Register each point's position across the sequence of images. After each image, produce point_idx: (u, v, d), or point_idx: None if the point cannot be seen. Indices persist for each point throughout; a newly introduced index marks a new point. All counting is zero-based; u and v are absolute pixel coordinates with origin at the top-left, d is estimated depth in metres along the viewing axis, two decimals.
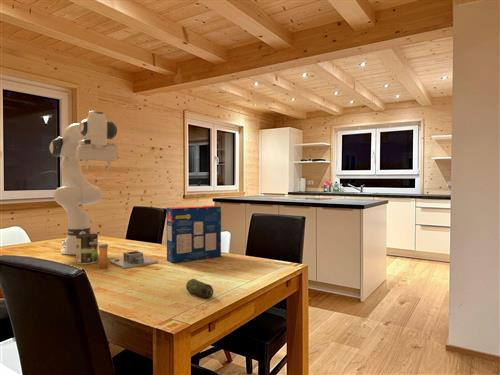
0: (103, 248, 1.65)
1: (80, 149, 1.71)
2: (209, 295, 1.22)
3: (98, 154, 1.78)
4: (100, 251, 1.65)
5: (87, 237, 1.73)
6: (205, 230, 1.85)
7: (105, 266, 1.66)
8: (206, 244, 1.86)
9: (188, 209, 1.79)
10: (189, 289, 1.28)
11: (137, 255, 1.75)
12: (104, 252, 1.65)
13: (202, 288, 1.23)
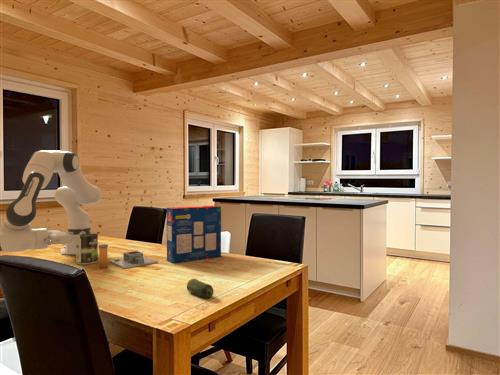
0: (103, 248, 1.65)
1: None
2: (209, 295, 1.22)
3: None
4: (100, 251, 1.65)
5: (87, 237, 1.73)
6: (205, 230, 1.85)
7: (105, 266, 1.66)
8: (206, 244, 1.86)
9: (188, 209, 1.79)
10: (189, 289, 1.28)
11: (137, 255, 1.75)
12: (104, 252, 1.65)
13: (202, 288, 1.23)
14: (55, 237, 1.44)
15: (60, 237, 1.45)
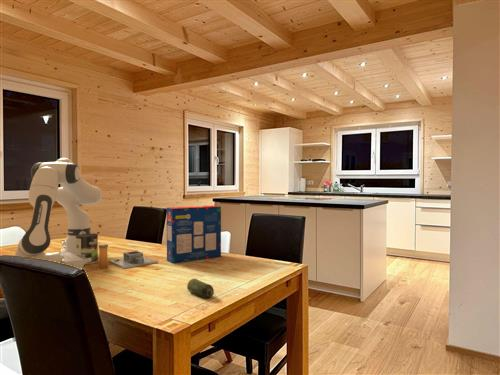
0: (103, 248, 1.65)
1: None
2: (209, 295, 1.22)
3: None
4: (100, 251, 1.65)
5: (87, 237, 1.73)
6: (205, 230, 1.85)
7: (105, 266, 1.66)
8: (206, 244, 1.86)
9: (188, 209, 1.79)
10: (190, 289, 1.28)
11: (137, 255, 1.75)
12: (104, 252, 1.65)
13: (202, 288, 1.23)
14: (68, 262, 1.48)
15: (73, 262, 1.49)
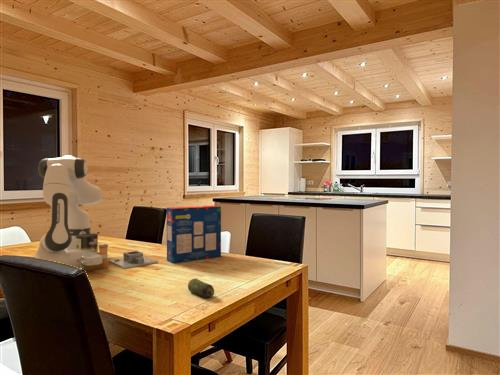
0: (103, 248, 1.65)
1: None
2: (210, 295, 1.22)
3: None
4: (100, 251, 1.65)
5: (87, 237, 1.73)
6: (205, 230, 1.85)
7: (105, 266, 1.66)
8: (206, 244, 1.86)
9: (188, 209, 1.79)
10: (190, 289, 1.28)
11: (137, 255, 1.75)
12: (104, 252, 1.65)
13: (202, 288, 1.23)
14: (88, 258, 1.53)
15: (92, 258, 1.54)
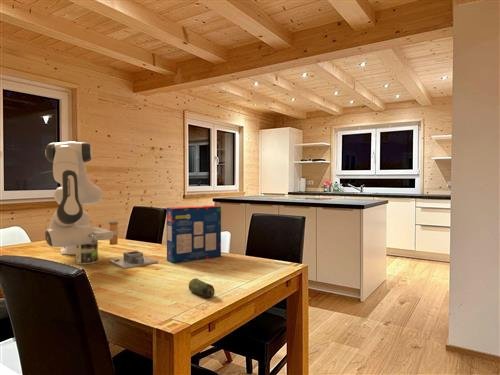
0: (113, 225, 1.68)
1: None
2: (210, 295, 1.22)
3: None
4: (110, 228, 1.68)
5: None
6: (205, 230, 1.85)
7: (115, 243, 1.69)
8: (206, 244, 1.86)
9: (188, 209, 1.79)
10: (191, 288, 1.28)
11: (137, 255, 1.75)
12: (114, 229, 1.69)
13: (203, 288, 1.23)
14: (99, 233, 1.57)
15: (103, 233, 1.57)
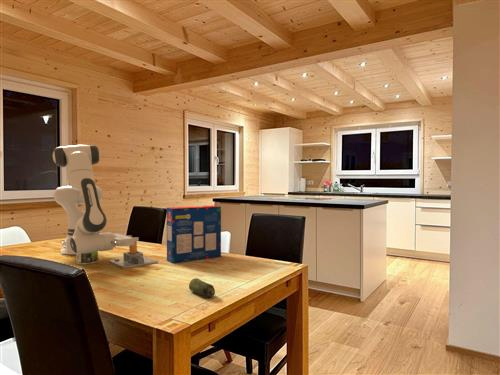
0: None
1: None
2: (210, 295, 1.22)
3: None
4: None
5: None
6: (205, 230, 1.85)
7: None
8: (206, 244, 1.86)
9: (188, 209, 1.79)
10: (191, 288, 1.28)
11: (137, 255, 1.75)
12: (134, 246, 1.76)
13: (203, 288, 1.23)
14: (121, 240, 1.63)
15: (125, 240, 1.64)
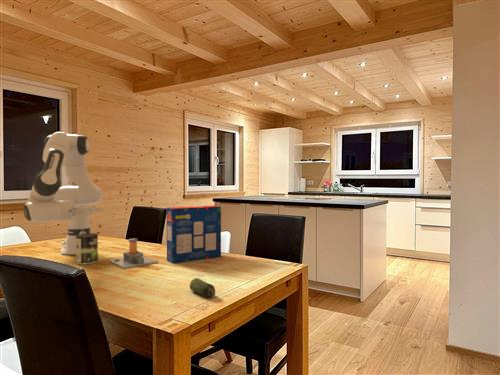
0: (133, 242, 1.75)
1: None
2: (211, 295, 1.22)
3: None
4: (130, 245, 1.75)
5: (87, 237, 1.73)
6: (205, 230, 1.85)
7: None
8: (206, 244, 1.86)
9: (188, 209, 1.79)
10: (192, 288, 1.28)
11: (137, 255, 1.75)
12: (134, 246, 1.76)
13: (204, 287, 1.23)
14: (80, 208, 1.52)
15: (84, 208, 1.53)
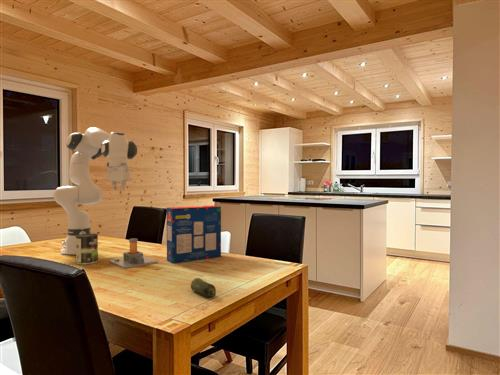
0: (133, 242, 1.75)
1: (107, 172, 1.84)
2: (211, 295, 1.23)
3: (115, 175, 1.78)
4: (131, 245, 1.75)
5: (87, 237, 1.73)
6: (205, 230, 1.85)
7: None
8: (206, 244, 1.86)
9: (188, 209, 1.79)
10: (193, 288, 1.29)
11: (137, 255, 1.75)
12: (134, 246, 1.76)
13: (204, 287, 1.23)
14: (128, 168, 1.73)
15: (128, 172, 1.73)
